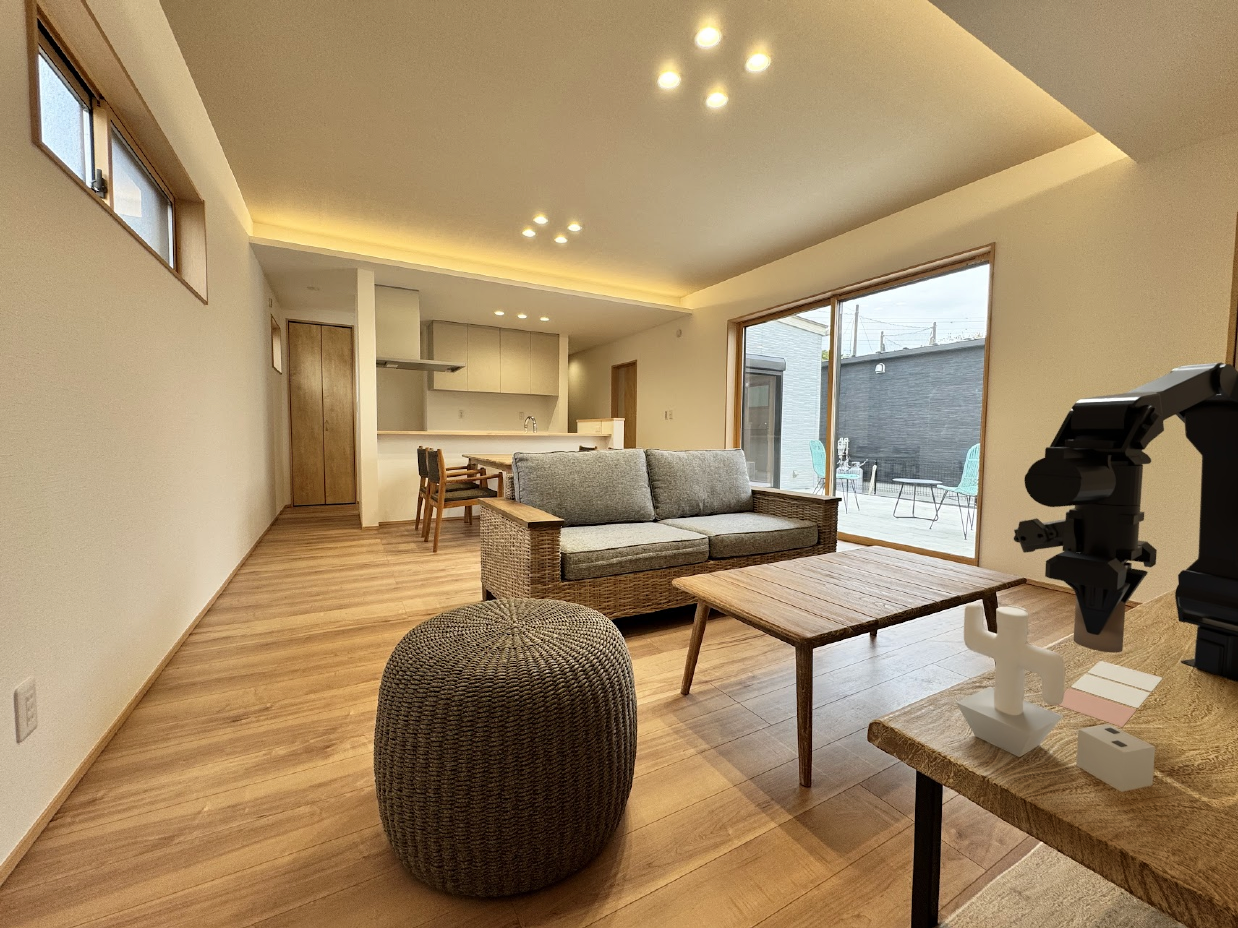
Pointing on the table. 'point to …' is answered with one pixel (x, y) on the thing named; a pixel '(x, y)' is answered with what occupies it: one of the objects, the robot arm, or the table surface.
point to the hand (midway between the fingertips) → (1098, 629)
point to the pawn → (1109, 635)
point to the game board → (1110, 693)
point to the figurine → (1011, 682)
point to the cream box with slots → (1115, 757)
